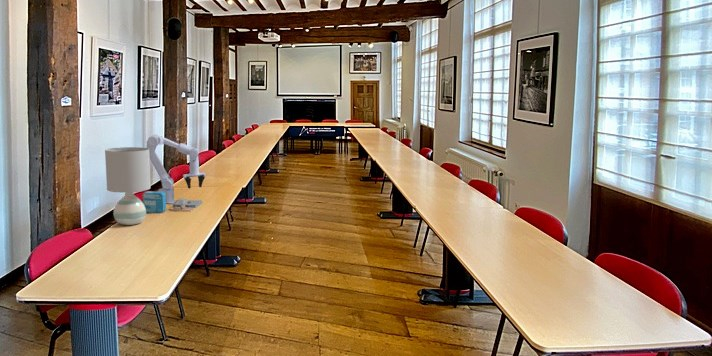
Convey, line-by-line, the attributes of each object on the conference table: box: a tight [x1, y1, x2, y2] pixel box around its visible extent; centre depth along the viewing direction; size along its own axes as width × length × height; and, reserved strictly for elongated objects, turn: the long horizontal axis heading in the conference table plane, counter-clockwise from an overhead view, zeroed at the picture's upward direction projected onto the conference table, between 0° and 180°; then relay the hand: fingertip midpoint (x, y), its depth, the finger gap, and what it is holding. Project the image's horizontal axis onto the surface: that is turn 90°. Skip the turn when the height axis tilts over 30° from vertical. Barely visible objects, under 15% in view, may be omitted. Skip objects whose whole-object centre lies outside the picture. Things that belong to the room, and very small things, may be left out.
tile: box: [170, 207, 196, 212], centre depth 329 cm, size 12×8×1 cm, turn 88°
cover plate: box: [172, 199, 203, 209], centre depth 341 cm, size 14×14×2 cm
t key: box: [177, 197, 188, 209], centre depth 329 cm, size 7×3×6 cm, turn 43°
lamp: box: [104, 146, 151, 226], centre depth 291 cm, size 22×22×40 cm
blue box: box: [142, 190, 167, 214], centre depth 321 cm, size 12×4×12 cm, turn 88°
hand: (194, 187), depth 350 cm, fingers open, 7 cm apart
